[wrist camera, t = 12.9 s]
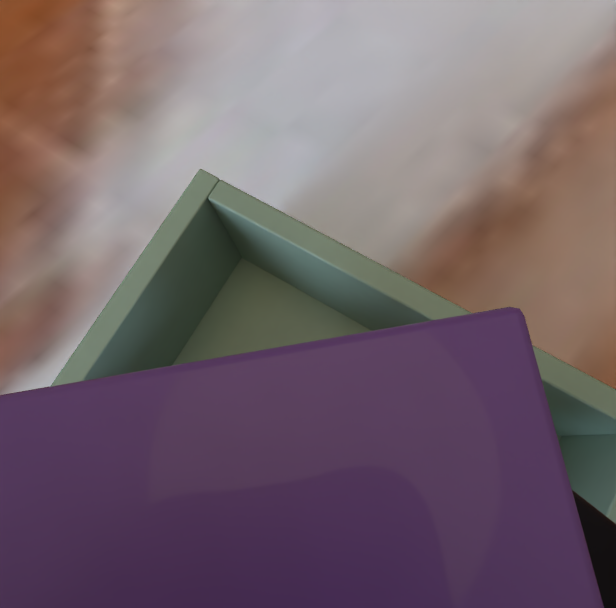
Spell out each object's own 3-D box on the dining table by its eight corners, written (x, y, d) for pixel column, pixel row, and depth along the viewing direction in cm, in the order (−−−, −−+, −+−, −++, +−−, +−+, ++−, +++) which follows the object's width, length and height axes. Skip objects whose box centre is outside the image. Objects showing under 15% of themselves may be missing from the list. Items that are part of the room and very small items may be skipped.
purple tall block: (418, 549, 14) (734, 1046, 2) (217, 580, 15) (-372, 1185, 3) (390, 411, 15) (527, 299, 3) (203, 443, 16) (-281, 437, 4)
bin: (578, 429, 16) (683, 424, 11) (398, 802, 14) (426, 1003, 9) (241, 243, 19) (199, 167, 13) (46, 542, 17) (-89, 586, 12)
